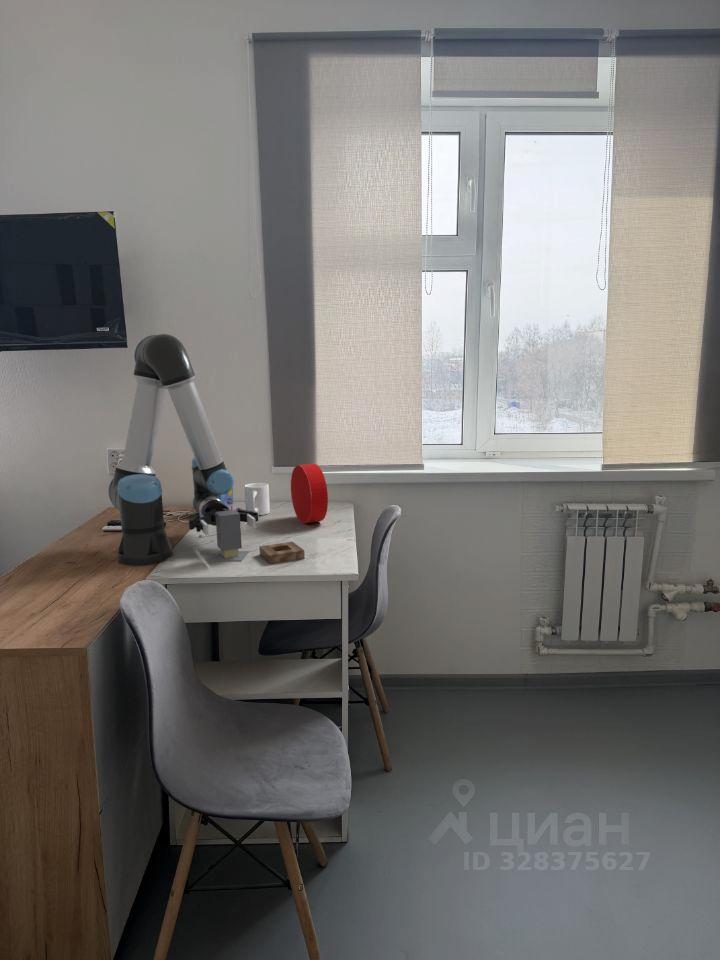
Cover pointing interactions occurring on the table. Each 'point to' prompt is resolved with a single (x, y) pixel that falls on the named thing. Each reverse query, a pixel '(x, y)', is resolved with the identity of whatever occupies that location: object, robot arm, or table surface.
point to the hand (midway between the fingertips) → (231, 526)
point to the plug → (228, 533)
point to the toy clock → (309, 493)
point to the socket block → (281, 552)
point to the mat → (239, 558)
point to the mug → (257, 498)
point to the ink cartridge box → (227, 499)
